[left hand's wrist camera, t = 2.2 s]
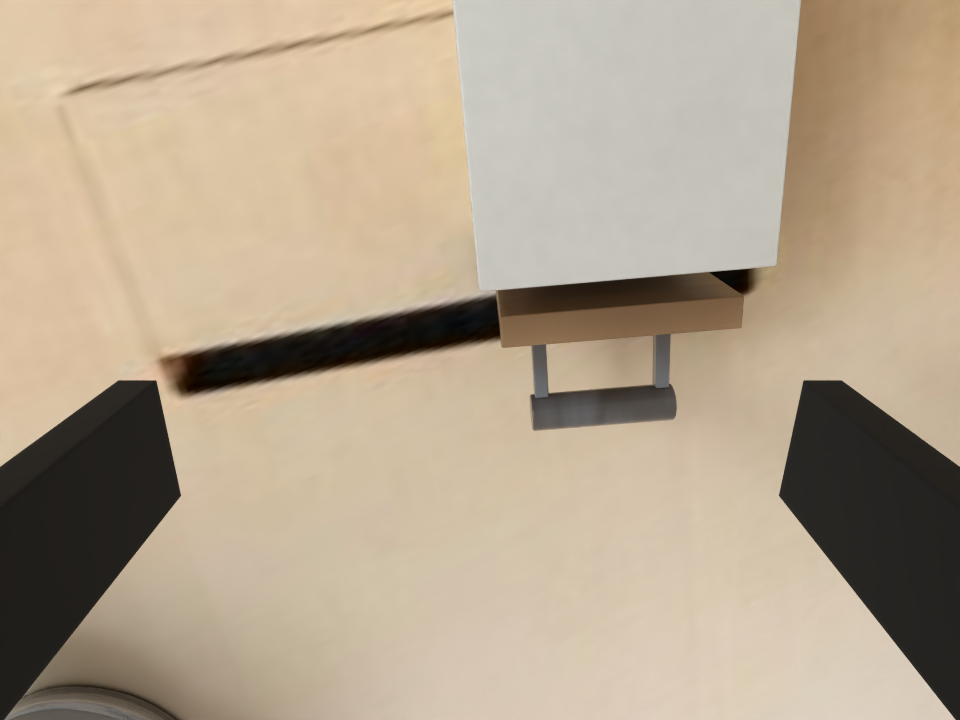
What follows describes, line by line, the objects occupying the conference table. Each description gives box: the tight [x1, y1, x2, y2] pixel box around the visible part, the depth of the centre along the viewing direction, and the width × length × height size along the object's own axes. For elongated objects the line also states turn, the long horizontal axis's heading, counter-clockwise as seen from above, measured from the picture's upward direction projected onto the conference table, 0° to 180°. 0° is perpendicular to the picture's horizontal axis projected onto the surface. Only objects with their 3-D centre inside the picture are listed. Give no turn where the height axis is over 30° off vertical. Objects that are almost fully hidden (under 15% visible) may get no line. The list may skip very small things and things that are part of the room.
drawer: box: [496, 272, 744, 431], centre depth 24 cm, size 26×9×10 cm, turn 5°
